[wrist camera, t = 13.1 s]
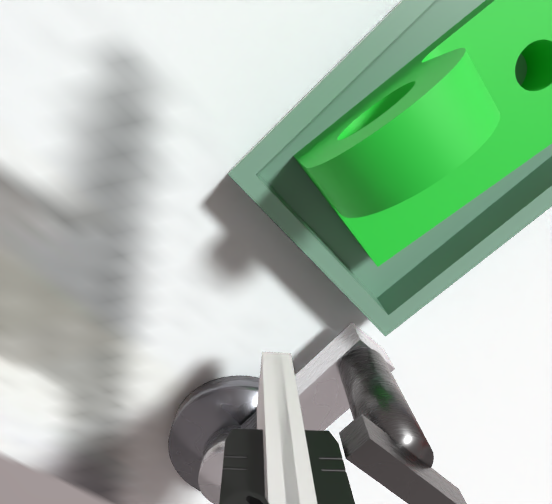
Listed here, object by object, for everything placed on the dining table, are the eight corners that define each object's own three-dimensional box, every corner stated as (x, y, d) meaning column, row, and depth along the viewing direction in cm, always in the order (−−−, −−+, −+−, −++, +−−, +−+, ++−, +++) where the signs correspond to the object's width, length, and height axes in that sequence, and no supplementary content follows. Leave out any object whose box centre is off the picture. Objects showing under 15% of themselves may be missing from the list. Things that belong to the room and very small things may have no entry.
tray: (231, 168, 18) (227, 174, 15) (536, -134, 14) (587, -182, 12) (371, 313, 20) (385, 336, 18) (653, 85, 17) (714, 79, 15)
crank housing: (145, 432, 22) (138, 449, 21) (240, 350, 21) (239, 364, 20) (240, 501, 24) (239, 521, 23) (333, 431, 23) (337, 449, 22)
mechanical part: (365, 252, 19) (437, 338, 11) (292, 155, 17) (317, 178, 9) (588, 91, 17) (862, 62, 9) (529, -36, 15) (803, -202, 7)
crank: (249, 495, 22) (242, 682, 15) (181, 452, 21) (136, 631, 13) (402, 362, 19) (488, 506, 12) (335, 305, 18) (385, 426, 11)
